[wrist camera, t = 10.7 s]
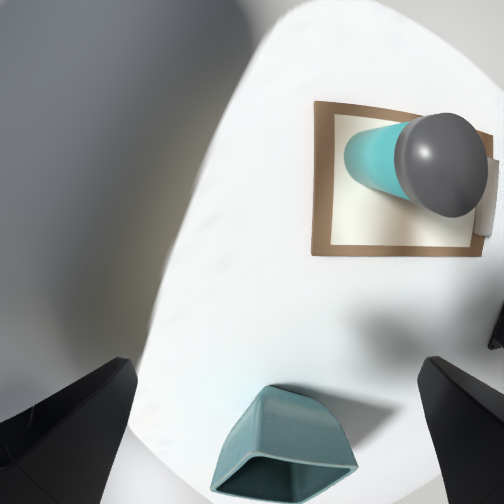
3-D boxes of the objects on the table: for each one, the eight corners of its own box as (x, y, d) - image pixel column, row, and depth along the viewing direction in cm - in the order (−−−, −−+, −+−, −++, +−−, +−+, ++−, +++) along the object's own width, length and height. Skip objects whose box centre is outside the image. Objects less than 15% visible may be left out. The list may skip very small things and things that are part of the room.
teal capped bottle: (396, 132, 16) (488, 124, 7) (395, 189, 17) (483, 220, 8) (342, 126, 16) (411, 103, 7) (341, 186, 17) (409, 215, 9)
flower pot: (343, 389, 24) (362, 467, 15) (296, 437, 26) (300, 506, 18) (257, 362, 23) (251, 451, 14) (220, 417, 26) (207, 491, 17)
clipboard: (488, 135, 15) (499, 135, 14) (477, 254, 19) (486, 259, 17) (313, 102, 16) (317, 98, 15) (310, 252, 19) (313, 259, 18)
